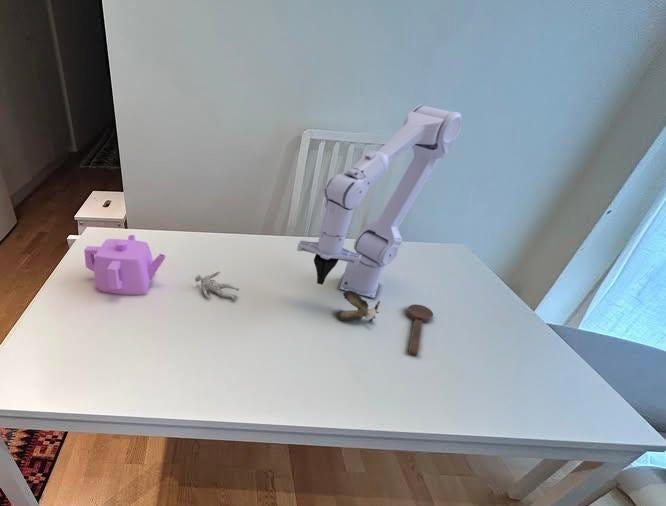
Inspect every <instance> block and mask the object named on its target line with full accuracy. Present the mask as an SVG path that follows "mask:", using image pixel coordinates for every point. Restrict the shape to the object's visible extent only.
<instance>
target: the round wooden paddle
mask: <svg viewBox="0 0 666 506" xmlns="http://www.w3.org/2000/svg"><path fill="white" fill-rule="evenodd" d="M405 313H406V315H407V317H408V318H409V319H411V320H413V326H412V332H411V337H410V338H411V339H410V345H409V350H408V355H411V356H414V357H417V356H418V354H419V353H418V352H419V345H420V340H421V339H420V338H421V331H422V326H423V325H422V324H423V323H424V324H425V323H429V322H431V320H432V318H433V316H434V313H433V311H432V309H430V308H429V307H427V306H425V305H422V304H415V303H414V304H410V305H409V306H408V307H407V310H406V312H405Z"/></svg>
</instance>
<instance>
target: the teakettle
mask: <svg viewBox="0 0 666 506" xmlns="http://www.w3.org/2000/svg"><path fill="white" fill-rule="evenodd" d="M127 237H128V238H127V239H124V238H123V239H121V238H107V239H105V240H104V242H103V243H102V244H101V246H93V245H87V246H86V247H85V248H84V252H83V253H84V261H85V268H86V269H88V270H90V271H92V272H94V282H95V285H96V287H97V289H98V291H100V292H103V293H110V294H115V295H125V296H126V295H127V296H129V295H130V296H142V295H145V294H146V293H147V291H148V289H149V287H150V285H151V282H152V280H153V277H154V276H155V274H156V272H157V271H158V270H159V268H160V266H161V265H162V264H163V262H164V261H165V259H166V257H167V255H166V254H164V253H159V254H158V255H157V257H156V258H155V259H154V258H153V254H152V252H151V249H150V246H149V243H148V242H146V241H141V240H136V235H135V234H129V235H128V236H127Z"/></svg>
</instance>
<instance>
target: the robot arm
mask: <svg viewBox="0 0 666 506" xmlns="http://www.w3.org/2000/svg"><path fill="white" fill-rule="evenodd" d="M462 118H463V117H462V114H461V113H460V112H459V111H449V110H446V109H441V108H435V107H431V106H427V105H425V104H418V105H416V106H415V107H414V108H413V109H412V110H411V111H410V112H408V113H407V115H406V117H405V119H404V122H403V125H402V127H401V128H400V129H399V130H398V131H397V132H396V133H394V135H393V136H392V137H391V138H390V139H389V140H388V141H386V143H385V144H383V146H382V147H381V148H380V149H379V150H370V151H368V152H367V153H366V154H364V156H363V157H361V158H360V159H359V160H358V161H356V163H354V164H353V165H352V166H351V167H350V168H348V169H347V170H346V171H345V172H343V173H338V174H336V175H333V176H332V177H331V178H330V179H329V180H328V182H327V184H326V186H325V187H324V189H323V196H324V198H325V199H324V200H325V202H324V208H325V211H324V216H323V220H322V223H321V224H322V225H321V228H320V233H319V238H318V241H306V240H299V242H298V244H297V247H296V248H297V249H296V251H297V252H305V253H309V254H310V253H311V254H314V255H315V256H314V258H313V263H314V266H315V271H316V278H317V279H316V284H317V285H321V286H323V284H324V282H325V281H326V278H327V277H328V275H329V274H330V272H332V270H333V269H334V268H335V267H336V265H337V263H338V262H339V261H343V262H347V263H346V266H345V269H344V272H343V273H342V276H341V283H340V286H339V290H342V291H344V292H345V291H348V290H350V291H354V292H356V293H357V294H358V295H359V296H363V297H367V298H371V299H374V298H376V294H377V291H378V288H379V281H380V279H381V276H382V273H383V271H384V268H385V266H387V265H390V264H391V263H392V262H393V261H394V260H395V259H396V257H397V255H398V253H399V250H400V246H401V245H402V243H403V238H402V235H401V232H400V231H399V227H400V225H402V222H403V220H404V219H405V217H406V215H407V214H408V212H409V211H410V208H411V207H412V205H413V203H414V202H415V200H416V199H417V197H418V196H419V193H420V192H421V190H422V189H423V187H424V185H425V183H426V181H428V178H429V177H430V175H431V173H432V172H433V170H434V168H435V167H436V165H437V164H438V162H439V160H440V159H443V158H445V157H446V156H447V154H448V152H449V151H450V149H451V147H452V146H453V145H454V142H455V141H456V140H457V137H458V136H459V134H460V132H461V130H462V121H463V119H462ZM410 149H411V150H412V151H413V158H412V159H411V161H410V164H409V165H408V167H407V168H406V170H405V172H404V174H403V175H402V178H401V179H400V181H399V183H398V184H397V186H396V188H395V189H394V191H393V194H392V195H391V197H390V199H389V200H388V202H387V204H386V206H385V207H384V209H383V211H382V213H381V215H380V216H379V218H378V220H376V221H372V222H369V223H367V224H366V225H365V227H364V228H363V229H362V231H361V232H360V233H359V234H358V235H357V237H356V238H355V240H354V243H353V250H354V251H351V250H349V249H347V248H344V245H345V241H346V238H347V234H348V231H349V227H350V223H351V220H352V217H353V214H354V209H355V208H356V207H357V206H359V205H360V204H361V203H362V201H363V199H364V197H365V196H366V195H367V193H368V191H369V188H371V187H372V186H373V185H374V184H376V182H377V181H379V180H380V179H381V178H383V176H384V175H386V174H387V173H388V170H389V164H390V163H392V162H393V161H394V160H396V159H398V158H399V157H400V156H402V154H404V153H406V152H407V151H408V150H410Z"/></svg>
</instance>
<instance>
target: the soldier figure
mask: <svg viewBox="0 0 666 506" xmlns="http://www.w3.org/2000/svg"><path fill="white" fill-rule="evenodd" d="M219 274H222V272H221V271H216V272H214V273H211V274H208V275H204V277H203V276H202V275H201V274H196V276H195V278H194V281H195V282H196V283H198V282H200V287H201V289H202V292H203V295H204V296H205V298H207V299H208V298H209V295H208V291H212V292H213V293H215V294H217V295H219V296H221V297H223V298H231V299H232V300H234V299H235V297H236V296H235V295H232V294H229V293H227V292H225V291H223V290H224V289H230V290H234V291H236V292H239V290H240V288H238V287H235V286H234V285H232V284H230V283H223V282H222V283H219V282H217V281H216V280H215V279H213V278H215V277H216V276H219ZM222 289H223V290H222ZM207 290H208V291H207Z"/></svg>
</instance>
